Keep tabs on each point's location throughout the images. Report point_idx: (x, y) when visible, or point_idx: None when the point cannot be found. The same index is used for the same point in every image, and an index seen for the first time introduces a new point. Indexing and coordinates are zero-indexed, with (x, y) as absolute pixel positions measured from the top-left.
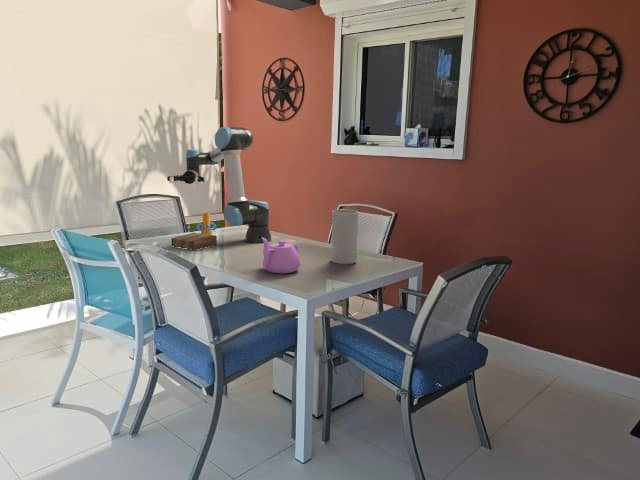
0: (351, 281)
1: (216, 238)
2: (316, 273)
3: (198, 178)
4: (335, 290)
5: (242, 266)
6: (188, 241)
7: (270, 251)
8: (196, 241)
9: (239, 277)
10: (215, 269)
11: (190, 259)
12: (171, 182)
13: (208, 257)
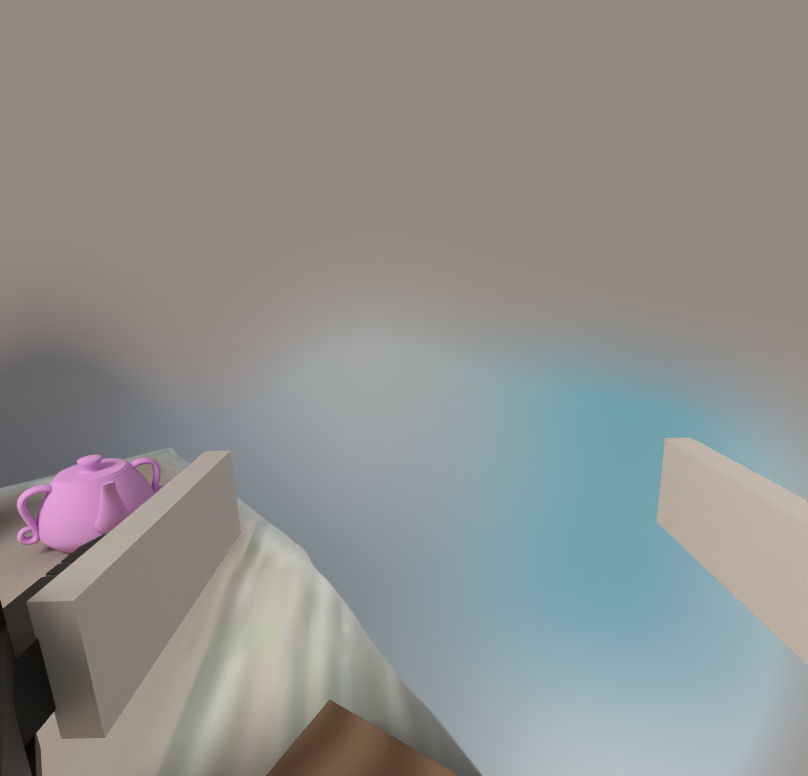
0: (19, 490)
1: None
2: None
3: (45, 618)
4: None
5: None
6: (367, 726)
7: (136, 470)
8: (318, 714)
9: None
10: (275, 532)
11: (347, 606)
12: (674, 538)
13: (276, 631)
